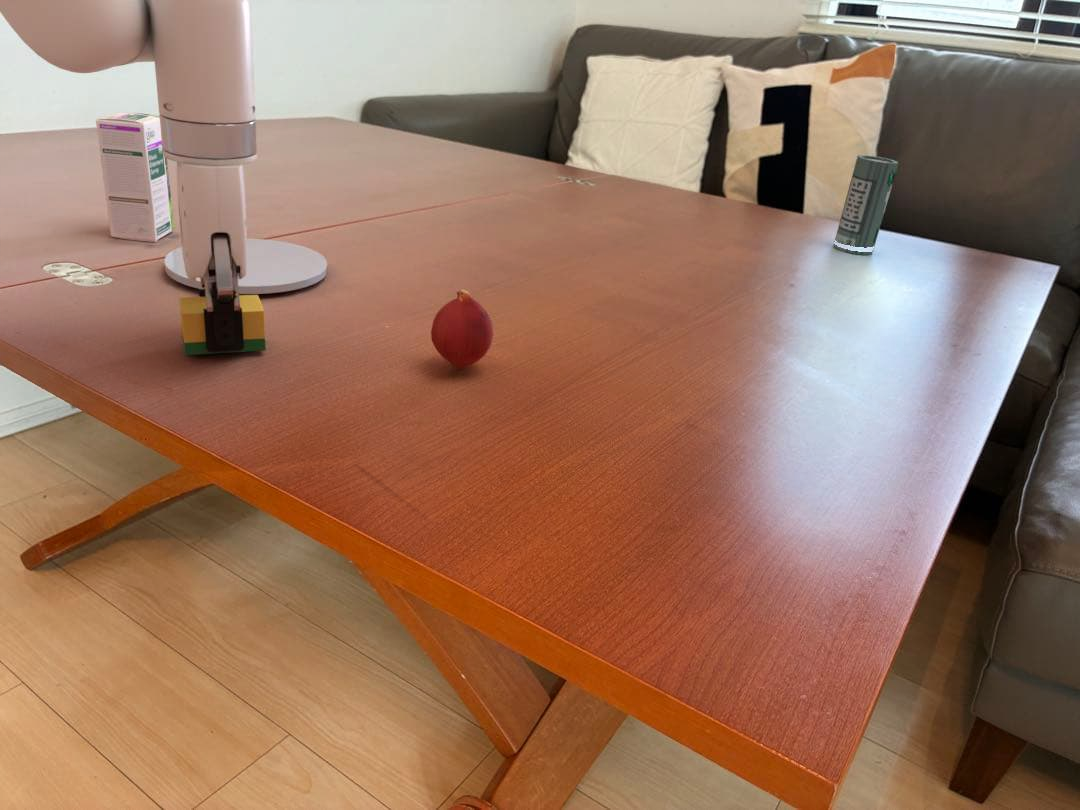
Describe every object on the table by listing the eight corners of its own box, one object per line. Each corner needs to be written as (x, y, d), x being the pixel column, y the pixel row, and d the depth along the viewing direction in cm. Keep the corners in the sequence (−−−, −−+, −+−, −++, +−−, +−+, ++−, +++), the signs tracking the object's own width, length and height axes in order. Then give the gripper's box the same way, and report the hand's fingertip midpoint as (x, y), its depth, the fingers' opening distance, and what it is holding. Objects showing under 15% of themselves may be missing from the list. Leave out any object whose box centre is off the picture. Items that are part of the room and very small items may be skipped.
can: (878, 254, 143) (905, 163, 136) (854, 255, 140) (881, 163, 133) (850, 243, 147) (875, 155, 141) (826, 245, 144) (850, 155, 138)
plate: (169, 302, 89) (167, 288, 88) (162, 250, 103) (160, 238, 103) (341, 296, 96) (341, 283, 96) (312, 248, 111) (312, 237, 110)
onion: (463, 351, 86) (469, 276, 82) (501, 372, 82) (509, 294, 79) (417, 363, 82) (421, 285, 78) (455, 386, 78) (461, 304, 75)
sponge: (185, 355, 77) (181, 314, 75) (182, 337, 80) (179, 297, 79) (265, 350, 80) (264, 310, 78) (259, 333, 83) (258, 294, 81)
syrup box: (156, 243, 106) (145, 122, 99) (108, 237, 105) (94, 116, 99) (174, 231, 111) (165, 115, 104) (129, 226, 111) (117, 110, 104)
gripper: (157, 119, 77) (174, 309, 85) (165, 159, 63) (185, 380, 71) (244, 123, 80) (252, 306, 88) (270, 161, 66) (277, 373, 74)
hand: (222, 337), depth 80 cm, fingers closed on sponge, 4 cm apart
